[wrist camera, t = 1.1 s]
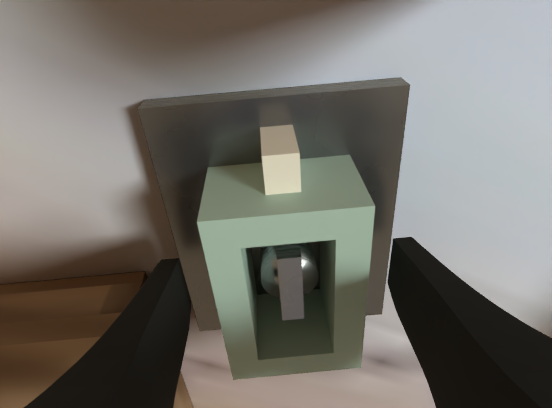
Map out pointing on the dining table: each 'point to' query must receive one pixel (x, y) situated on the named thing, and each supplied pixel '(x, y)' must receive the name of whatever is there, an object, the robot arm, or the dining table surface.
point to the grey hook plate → (247, 149)
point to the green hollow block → (288, 230)
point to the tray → (58, 330)
